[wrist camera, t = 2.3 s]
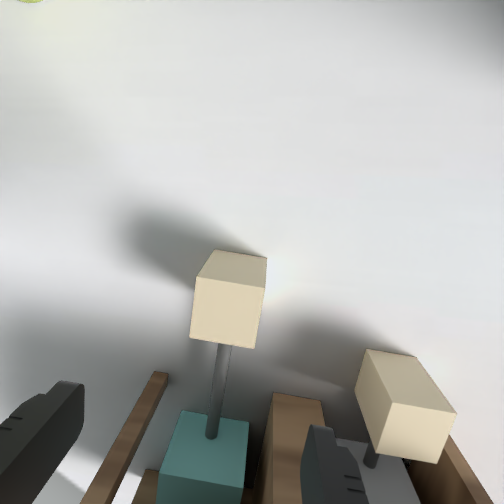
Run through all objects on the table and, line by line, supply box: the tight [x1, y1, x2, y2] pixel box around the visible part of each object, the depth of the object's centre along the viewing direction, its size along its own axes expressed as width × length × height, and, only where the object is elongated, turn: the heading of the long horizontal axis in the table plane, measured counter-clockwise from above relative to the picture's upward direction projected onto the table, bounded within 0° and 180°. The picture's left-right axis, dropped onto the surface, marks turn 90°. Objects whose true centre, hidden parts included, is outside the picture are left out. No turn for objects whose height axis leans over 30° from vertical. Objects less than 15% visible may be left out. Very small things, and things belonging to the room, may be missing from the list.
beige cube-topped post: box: [336, 349, 457, 504], centre depth 25 cm, size 15×6×6 cm, turn 171°
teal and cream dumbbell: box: [156, 249, 267, 504], centre depth 25 cm, size 21×6×6 cm, turn 171°
